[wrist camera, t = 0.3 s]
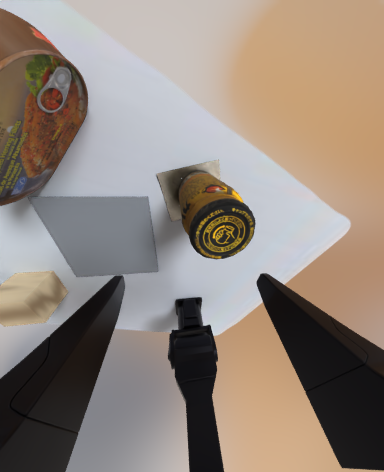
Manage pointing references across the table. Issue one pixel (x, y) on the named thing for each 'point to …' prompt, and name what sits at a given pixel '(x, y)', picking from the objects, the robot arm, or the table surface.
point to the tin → (34, 107)
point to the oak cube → (30, 298)
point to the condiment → (208, 210)
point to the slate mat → (100, 233)
